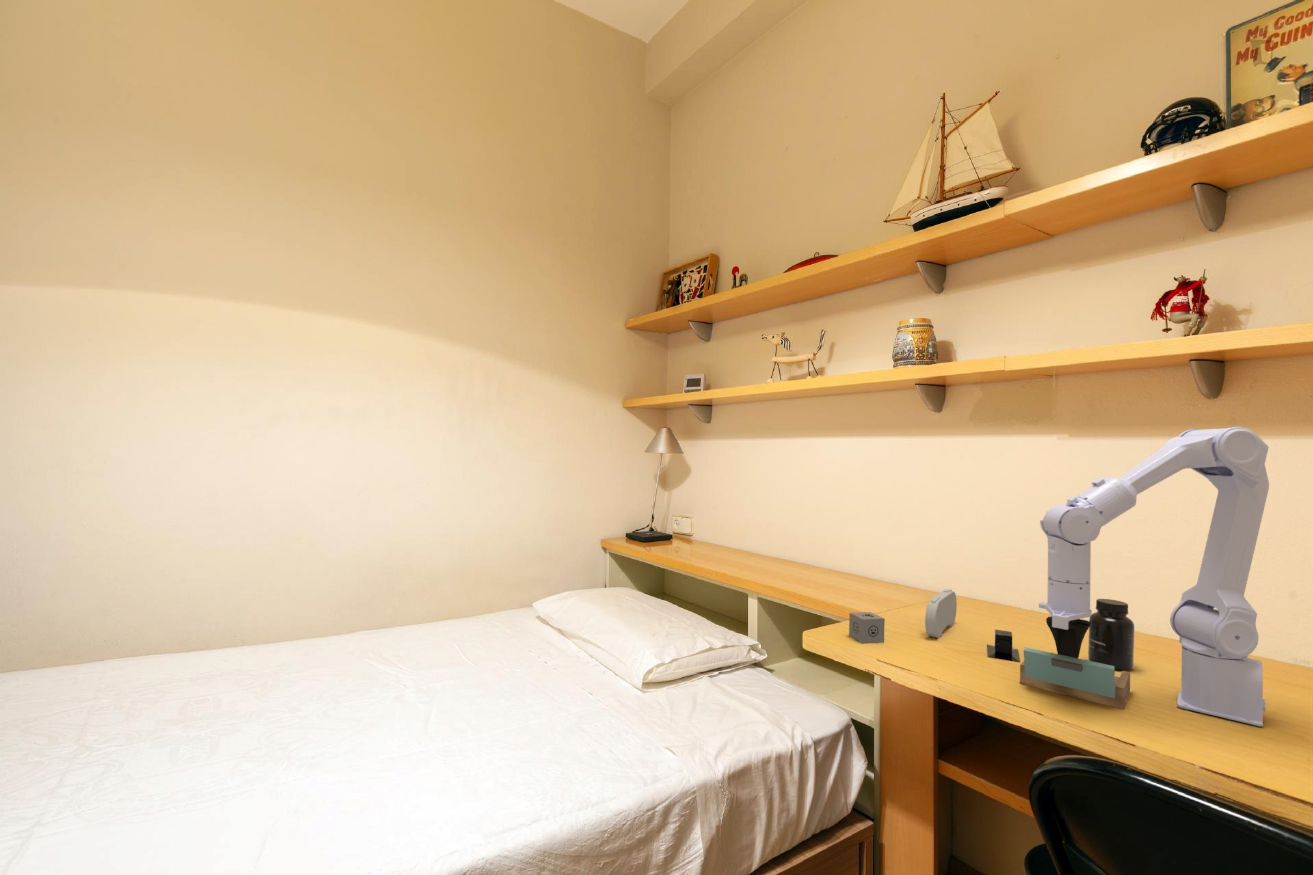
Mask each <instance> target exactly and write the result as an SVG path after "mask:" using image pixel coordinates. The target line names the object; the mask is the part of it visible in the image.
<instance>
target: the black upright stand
mask: <svg viewBox="0 0 1313 875" xmlns="http://www.w3.org/2000/svg"><path fill="white" fill-rule="evenodd" d="M986 653H987V654H986V655H987V656H986V657H987V658H990V659H994V660H1001V661H1007V662H1014V663H1019V664H1021V658H1020V652H1019V649H1018V648H1014V647H1013V633H1012V631H1009V630H1001V629H994V644H988V643H987V644H986Z"/></svg>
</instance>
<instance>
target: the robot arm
mask: <svg viewBox="0 0 1313 875" xmlns="http://www.w3.org/2000/svg"><path fill="white" fill-rule="evenodd" d="M1268 452H1269V446H1268V444H1267V443H1265V441H1264V440H1263V439H1262V438H1261V437H1260V436H1259V435H1258V434H1257V433H1256V432H1255V431H1253V430H1251V429H1249V428H1247V427H1244V426H1233V427H1227V428H1210V429H1209V428H1208V429H1207V428H1206V429H1200V428H1193V429H1192V428H1191V429H1188V430H1185V431H1183V432H1181V433H1180V434H1178V436H1175V437H1173V438H1170V439H1168V441H1166V443H1165V445H1164V446H1162V447H1161V448H1160V449H1158V450H1157V451H1156V452H1154V453H1153V454H1151V455H1150V456H1149V457H1147V458H1146V459H1144V460H1143V461H1142V462H1140V463H1139V464H1137V465H1136V466H1134V467H1133V468H1132V469H1130V470H1128V471H1127V472H1126V473H1125V474H1123V475H1122V476H1120V477H1119V478H1115V477H1105V478H1096V479H1094V480H1093V481H1091V485H1092V486H1091V487H1089V488H1088V489H1086V490H1085V491H1083V492H1081V493H1079V494H1078V495H1077V496H1070V497H1068V498H1067V499H1066V504H1065V505H1063V504H1061V505H1060V504H1059V505H1054V506H1052V507H1050V508H1048V509H1047V510H1046V512H1045V514H1044V516H1043V519H1042V520H1040V521H1039V526H1040V528H1041V530H1042V532H1043V533H1044V534H1045V535H1046V538H1047V600H1046V601H1047V602H1046V601H1041V602H1039V603H1038V608H1040V609H1044V610H1046V611H1047V612H1048V614H1049V615H1051V616H1048V617H1046V620H1045V622H1046V624H1047V626H1048V628H1049V630H1050V632H1051V635H1052V637H1053V639H1054V643H1055V648H1056V652H1057V653H1056V654H1059V655H1064V656H1069V657H1073V658H1078V659H1080V658H1079V656H1080V652H1081V650H1082V649H1081V648H1082V644H1083V642H1084V641H1083V640H1084V638H1085V635H1086V633H1087V632H1088V631H1089V627H1090V625H1091V622H1090V621H1089V620H1086V618H1090V617H1091V616H1092V614H1093V612H1092V611H1093V610H1091V553H1092V552H1091V551H1092V550H1091V548H1092V546H1091V545H1092V544H1091V542H1093V541H1096V539H1097V538H1098V537H1099V535H1100V534H1101V533H1100V532H1101V529H1102V528H1103V527H1104V526H1106V525H1107V524H1108V523H1110V522H1112V521H1113V520H1116V519H1117V518H1118V517H1120V516H1121V515H1123V514H1125V513H1126V512H1127V511H1130V510H1131V509H1132V508H1134V507H1135V506H1136V504H1137V496H1138V495H1139V494H1142V493H1143V492H1144V491H1146V490H1149V489H1151V488H1152V487H1153V486H1155V485H1157V484H1159V483H1161V482H1162V481H1164V480H1167V479H1168V478H1169V477H1172V476H1173V475H1175V474H1177V473H1179V472H1180V471H1182V470H1186V469H1191V470H1193V471H1195V472H1196V473H1198V474H1199V475H1201V476H1203V477H1204V478H1206V479H1207V480H1208V481H1209V482H1210V483H1211V484H1212V485H1213V486H1214V487H1215V488H1216V489H1217V497H1216V500H1215V504H1214V509H1213V513H1212V517H1211V521H1210V525H1209V530H1208V534H1207V539H1206V543H1205V547H1204V552H1203V556H1202V561H1201V564H1200V568H1199V573H1198V577H1197V581H1196V584H1195V585H1194V586H1192V587H1190V588H1188V589H1187V590H1185V591H1183V592H1182V595H1181V598H1180V601H1179V602H1178V603H1177V605H1176V606H1175V607H1174V608H1173V610H1172V612H1171V614H1170V618H1169V622H1170V625H1171V628H1172V630H1173V631H1174V633H1175V634H1176V636H1179V643H1180V644H1181V665H1180V666H1181V680H1180V681H1181V682H1180V683H1181V684H1180V686H1181V688H1180V690H1179V691H1178V695H1177V701H1176V702H1177V703H1176V706H1177V707H1178V708H1180V709H1184V710H1185V709H1186V710H1189V711H1193V712H1198V713H1201V714H1205V715H1210V716H1215V717H1219V718H1222V719H1227V720H1232V721H1235V722H1239V723H1244V724H1249V725H1253V726H1256V727H1264V723H1263V722H1264V716H1263V714H1264V712H1266V699H1265V698H1264V677H1263V676H1264V674H1263V671H1264V670H1263V661H1261V660H1258V659H1254V658H1250V657H1248V656H1250V655H1251V654H1252V653H1253V652H1254V651H1255V649H1257V647H1258V644H1259V639H1260V638H1259V633H1258V629H1257V624H1256V621H1257V617H1258V613H1257V611H1256V610H1255V609H1254V608H1253V606H1252V605H1251V604H1250V602H1249V601H1248V600H1247V599H1246V597H1245V592H1246V588H1247V584H1248V581H1249V580H1248V579H1249V575H1250V570H1251V568H1252V562H1253V559H1254V558H1253V557H1254V553H1255V549H1256V545H1257V541H1258V537H1259V533H1260V528H1261V523H1262V520H1263V516H1264V515H1263V514H1264V510H1265V507H1266V502H1267V498H1268V493H1269V489H1270V482H1269V476H1268V473H1267V469H1266V464H1265V463H1266V460H1267V456H1268Z"/></svg>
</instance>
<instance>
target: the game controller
mask: <svg viewBox="0 0 1313 875" xmlns="http://www.w3.org/2000/svg"><path fill="white" fill-rule="evenodd" d="M957 606H958V604H957V595H956V592H955V591H954V590H952V589H948V588H945V589H943V590H942V591H940V592H939V593H937V594H935V595H934V596H933V597H931V598H930V599H929V600H928V602H927V606H926V609H925V620H924V624H925V625H924V627H925V633H926V635H927V636H928V637H930V638H934V639H939V638H941V636H942V635H943V631H944V630H945V629H946V628H947V627H950V628H951V627H953V626H954V624H955V622H956V618H957V609H958V608H957Z"/></svg>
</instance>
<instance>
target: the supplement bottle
mask: <svg viewBox="0 0 1313 875" xmlns="http://www.w3.org/2000/svg"><path fill="white" fill-rule="evenodd" d="M1095 603H1096V605H1095V610H1097V611H1096V612H1094V613H1093V612H1092V616H1091V617H1088V618H1089V620H1088V621H1090V622H1091V625H1090V627H1089V628H1088V649H1087V650H1088V652H1087V654H1088V656H1087V657H1088V661H1092V662H1097V663H1102V664H1106V665H1111V666H1114V667H1115V671H1119V672H1122V671H1126V672H1130V671H1131V670H1132V669H1133V668H1134V658H1135V657H1134V652H1135V650H1134V649H1135V623H1134V621H1133V620H1132V619H1130V618H1129V617H1128V615H1129V604H1128V603H1127V602H1124V601H1121V600H1116V599H1110V598H1109V599H1108V598H1097V599H1096V602H1095Z"/></svg>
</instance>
